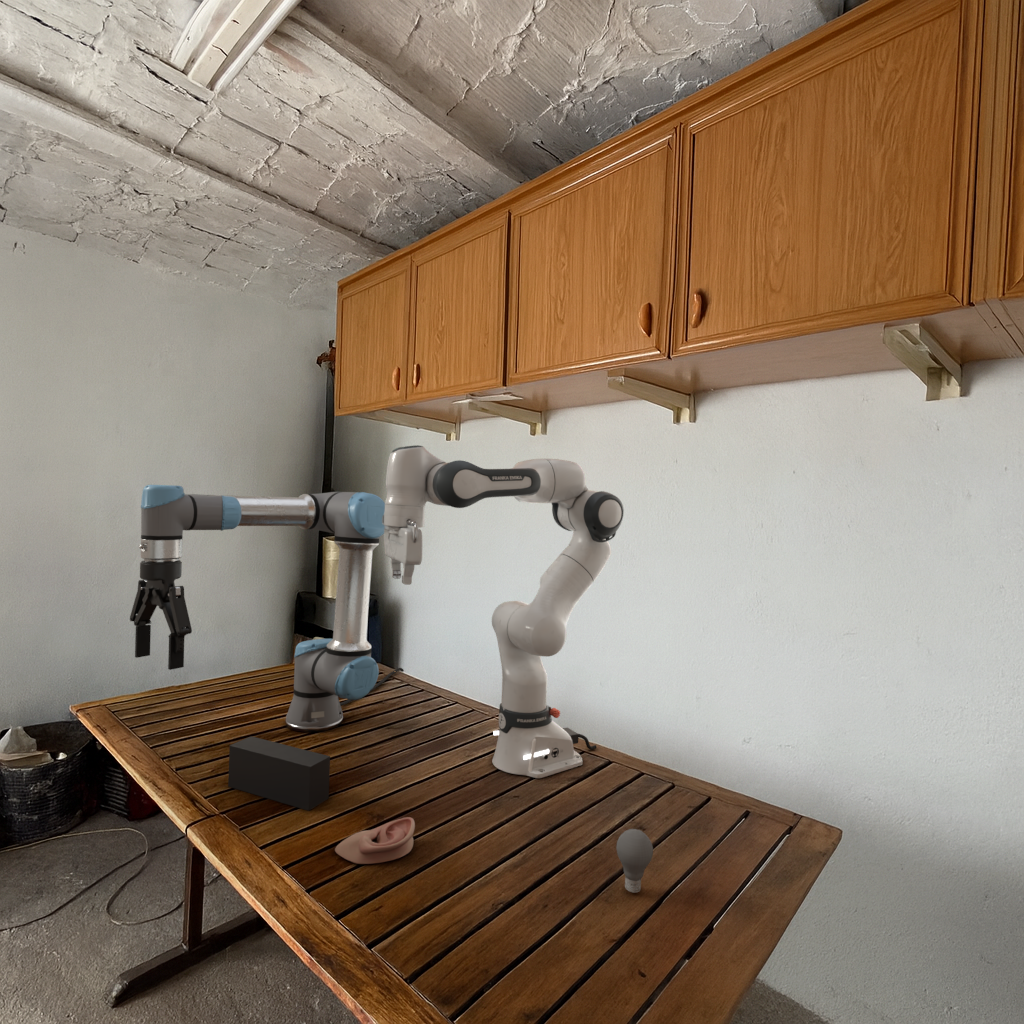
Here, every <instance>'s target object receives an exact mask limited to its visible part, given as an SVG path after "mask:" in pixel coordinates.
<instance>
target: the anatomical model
mask: <svg viewBox="0 0 1024 1024" xmlns="http://www.w3.org/2000/svg"><path fill="white" fill-rule="evenodd" d="M415 828H416V823H415V820H414V818H413V817H410V816H409V817H402V818H398V819H395V820H392V821H389V822H386V823H384V824H382V825H380V826H377V827H375V828H372V829H368V830H361V831H358V832H356V833H353V834H352V835H350V836H348V837H346V838H345V839H343V840H342V841H340V843H338V844H337V845H336V846H335V848H334V852H335V853H336V854H337V855H338V856H340V857H341V858H343V859H344V860H347V861H348V862H351V863H353V864H357V865H369V864H370V865H371V864H380V863H385V862H390V861H394V860H398V859H400V858H402V857H404V856H407V855H408V854H409V853H410V852H411V851H412V849H413V847H414V837H413V835H414V833H415Z"/></svg>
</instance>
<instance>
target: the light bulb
mask: <svg viewBox="0 0 1024 1024" xmlns="http://www.w3.org/2000/svg"><path fill="white" fill-rule="evenodd" d="M615 849H616V854H617V857H618V859H619V861H620V863H621V865H622V867H623V873H624V874H623V875H624V876H625V878H624V888H625V890H627V891H628V892H630V893H634V894H635V893H639V892H640V891H641V889H642V887H641V886H642V879H643V877H644V875H645V871H646V868H647V867H648V866H649V864H650V863H651V861H652V859H653V855H654V847H653V843H652V841H651V838H649V836H648V835H647V834H646V833H645V832H643V831H642V830H641V829H636V828H629V829H627V830H625V831H623V832H622V833H621V834H620V835H619V837H618V839H617V841H616V847H615Z"/></svg>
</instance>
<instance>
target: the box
mask: <svg viewBox="0 0 1024 1024" xmlns="http://www.w3.org/2000/svg"><path fill="white" fill-rule="evenodd" d="M330 770H331V756H330V755H327V754H324V753H323V754H322V753H319V752H315V751H311V750H307V749H303V748H299V747H295V746H291V745H287V744H285V743H284V744H283V743H280V742H276V741H271V740H267V739H263V738H260V737H257V736H249V737H246V738H243V739H242V740H239V741H237V742H234V743H232V744H229V752H228V775H227V776H228V780H227V784H228V785H227V787H228V788H231V789H235V790H238V791H242V792H244V793H248V794H251V795H255V796H258V797H261V798H265V799H267V800H271V801H273V802H278V803H281V804H284V805H288V806H291V807H295V808H298V809H301V810H304V811H307V812H309V811H311V810H313V809H314V808H316V807H318V806H319V805H321V804H323V803H324V802H326V801H327V800H329V796H330V775H331V773H330V772H331V771H330Z"/></svg>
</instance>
